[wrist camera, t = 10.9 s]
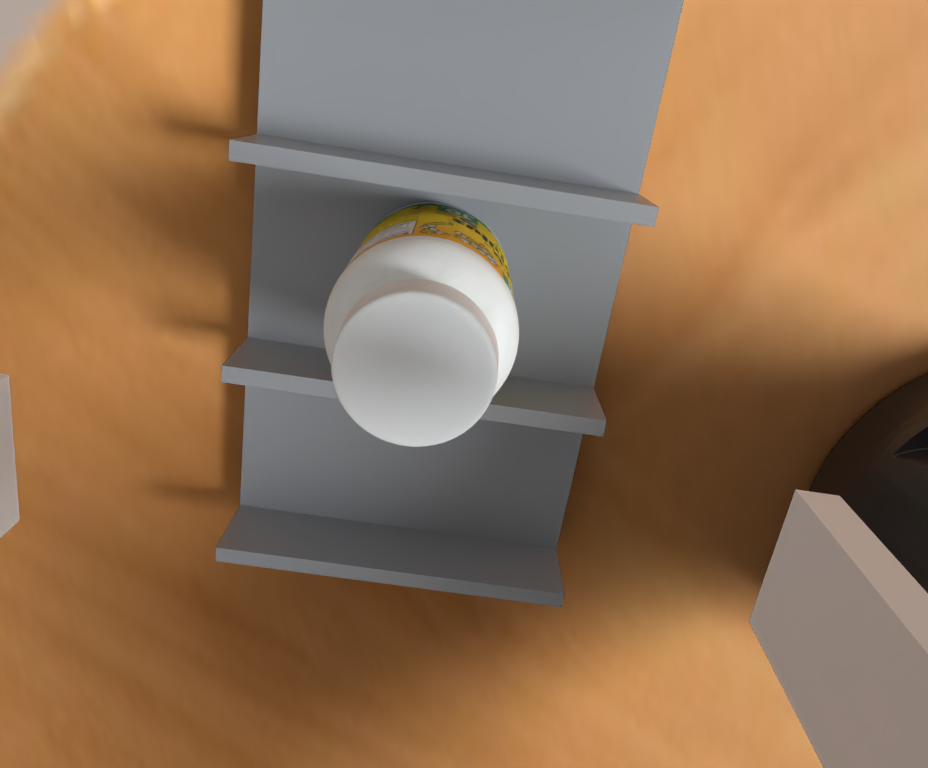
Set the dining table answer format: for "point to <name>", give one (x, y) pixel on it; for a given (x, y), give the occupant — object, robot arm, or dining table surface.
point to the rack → (475, 191)
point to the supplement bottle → (422, 325)
